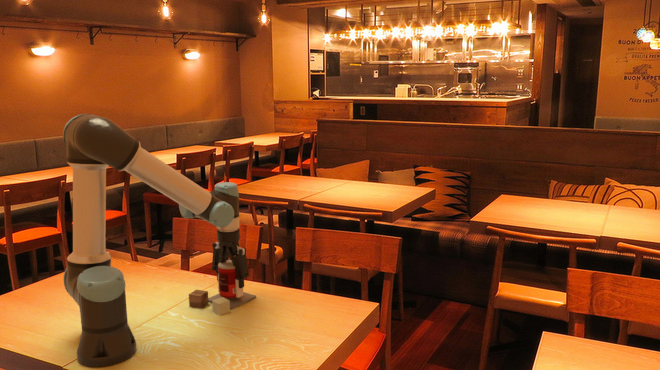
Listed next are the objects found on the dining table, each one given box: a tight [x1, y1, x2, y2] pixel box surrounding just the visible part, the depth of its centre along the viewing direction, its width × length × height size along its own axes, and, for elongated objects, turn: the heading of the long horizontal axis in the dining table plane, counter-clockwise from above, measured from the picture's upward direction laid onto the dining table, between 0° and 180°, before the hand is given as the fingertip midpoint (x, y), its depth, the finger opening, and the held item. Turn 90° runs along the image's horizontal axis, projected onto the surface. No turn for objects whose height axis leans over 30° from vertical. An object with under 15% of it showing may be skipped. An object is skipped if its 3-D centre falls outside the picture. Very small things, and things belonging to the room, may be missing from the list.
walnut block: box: [188, 289, 210, 310], centre depth 185 cm, size 4×4×4 cm
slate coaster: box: [208, 291, 257, 310], centre depth 190 cm, size 12×12×1 cm
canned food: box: [218, 259, 241, 298], centre depth 189 cm, size 8×8×11 cm
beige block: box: [211, 297, 231, 317], centre depth 180 cm, size 4×4×4 cm
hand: (230, 293), depth 190 cm, fingers closed on canned food, 8 cm apart
